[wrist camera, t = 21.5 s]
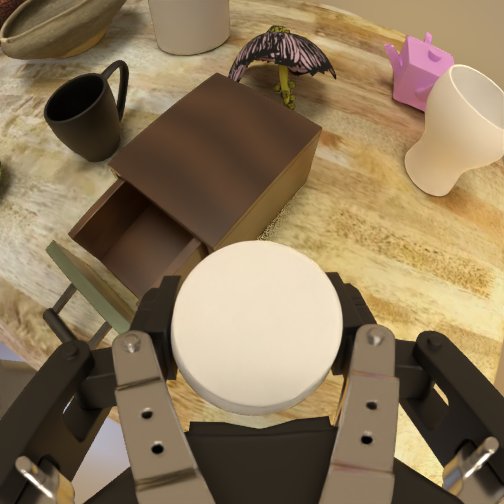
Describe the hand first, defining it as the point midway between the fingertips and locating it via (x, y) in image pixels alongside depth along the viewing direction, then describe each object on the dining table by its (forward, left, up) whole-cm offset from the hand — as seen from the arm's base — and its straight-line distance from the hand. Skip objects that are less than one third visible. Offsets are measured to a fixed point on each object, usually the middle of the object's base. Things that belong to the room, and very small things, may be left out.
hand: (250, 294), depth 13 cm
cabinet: (+10, +11, -18) cm, 23 cm away
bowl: (+20, +59, -18) cm, 65 cm away
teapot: (+43, +1, -18) cm, 46 cm away
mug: (+8, +29, -18) cm, 35 cm away
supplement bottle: (-1, -1, -4) cm, 5 cm away
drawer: (-3, +11, -17) cm, 21 cm away
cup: (+30, -7, -18) cm, 35 cm away
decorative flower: (+27, +16, -18) cm, 36 cm away
